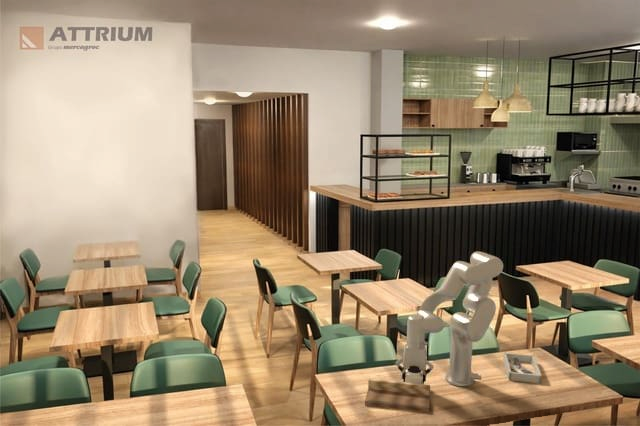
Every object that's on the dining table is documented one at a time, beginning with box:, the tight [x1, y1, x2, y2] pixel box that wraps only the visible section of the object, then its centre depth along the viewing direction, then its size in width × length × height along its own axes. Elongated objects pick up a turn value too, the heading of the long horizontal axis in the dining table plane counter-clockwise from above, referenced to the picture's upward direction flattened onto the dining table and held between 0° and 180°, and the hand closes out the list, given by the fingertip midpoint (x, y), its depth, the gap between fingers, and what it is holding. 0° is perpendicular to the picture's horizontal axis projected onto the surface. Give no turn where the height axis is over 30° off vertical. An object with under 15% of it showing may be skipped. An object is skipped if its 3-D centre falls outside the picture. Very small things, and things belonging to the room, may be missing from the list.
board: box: [364, 378, 431, 414], centre depth 232 cm, size 26×12×6 cm, turn 78°
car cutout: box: [509, 357, 536, 375], centre depth 262 cm, size 15×7×4 cm, turn 16°
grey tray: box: [502, 352, 543, 384], centre depth 262 cm, size 14×23×4 cm, turn 168°
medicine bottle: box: [405, 366, 423, 384], centre depth 243 cm, size 7×7×12 cm
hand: (413, 381), depth 243 cm, fingers open, 7 cm apart
